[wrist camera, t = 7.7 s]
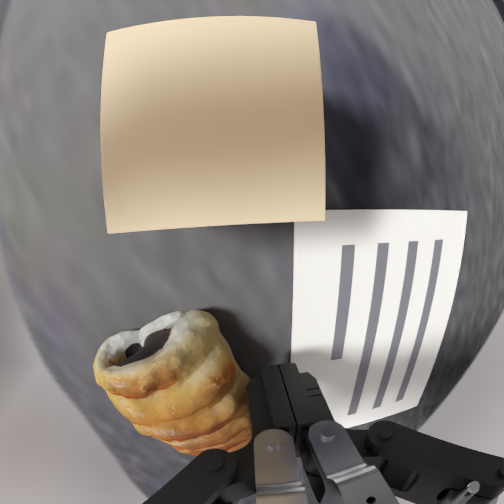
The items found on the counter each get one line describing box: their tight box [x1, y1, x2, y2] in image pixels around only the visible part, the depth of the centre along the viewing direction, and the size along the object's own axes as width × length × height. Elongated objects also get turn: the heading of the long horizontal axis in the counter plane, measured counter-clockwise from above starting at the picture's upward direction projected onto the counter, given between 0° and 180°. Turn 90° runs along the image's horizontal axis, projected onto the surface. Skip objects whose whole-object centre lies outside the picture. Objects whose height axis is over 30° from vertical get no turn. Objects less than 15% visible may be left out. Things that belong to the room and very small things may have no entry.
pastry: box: [93, 310, 252, 456], centre depth 12 cm, size 9×7×4 cm
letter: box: [290, 209, 467, 428], centre depth 14 cm, size 14×10×1 cm
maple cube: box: [100, 16, 325, 234], centre depth 8 cm, size 5×5×5 cm
